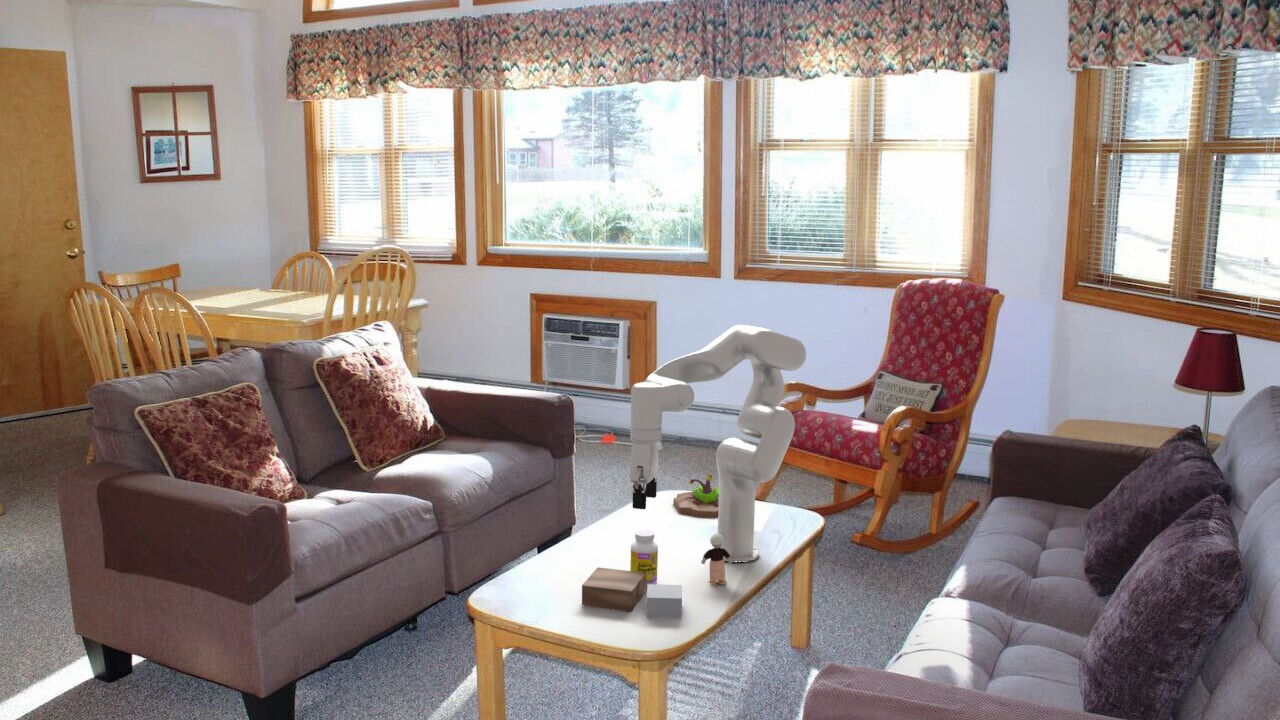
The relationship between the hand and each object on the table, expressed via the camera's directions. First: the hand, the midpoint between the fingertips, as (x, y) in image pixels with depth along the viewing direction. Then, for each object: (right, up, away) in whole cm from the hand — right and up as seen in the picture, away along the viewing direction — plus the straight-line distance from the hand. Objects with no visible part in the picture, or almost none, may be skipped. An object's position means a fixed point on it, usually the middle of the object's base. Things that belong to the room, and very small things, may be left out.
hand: (644, 502), depth 258 cm
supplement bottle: (0, -20, +4) cm, 21 cm away
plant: (+19, -11, +64) cm, 68 cm away
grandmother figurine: (+18, -21, +4) cm, 27 cm away
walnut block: (-7, -22, -7) cm, 24 cm away
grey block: (+4, -23, -13) cm, 27 cm away
